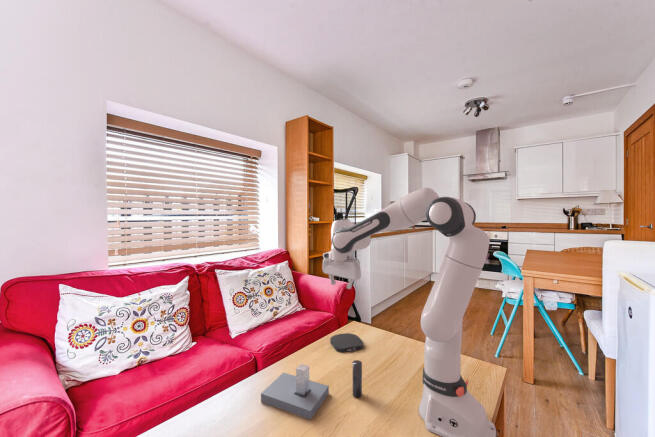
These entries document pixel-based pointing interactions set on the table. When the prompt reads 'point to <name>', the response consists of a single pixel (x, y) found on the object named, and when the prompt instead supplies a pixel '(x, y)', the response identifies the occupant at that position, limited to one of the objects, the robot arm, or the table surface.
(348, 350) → the media streaming box
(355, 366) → the round bit
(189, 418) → the table surface
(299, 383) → the square bit
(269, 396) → the socket board
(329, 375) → the table surface
